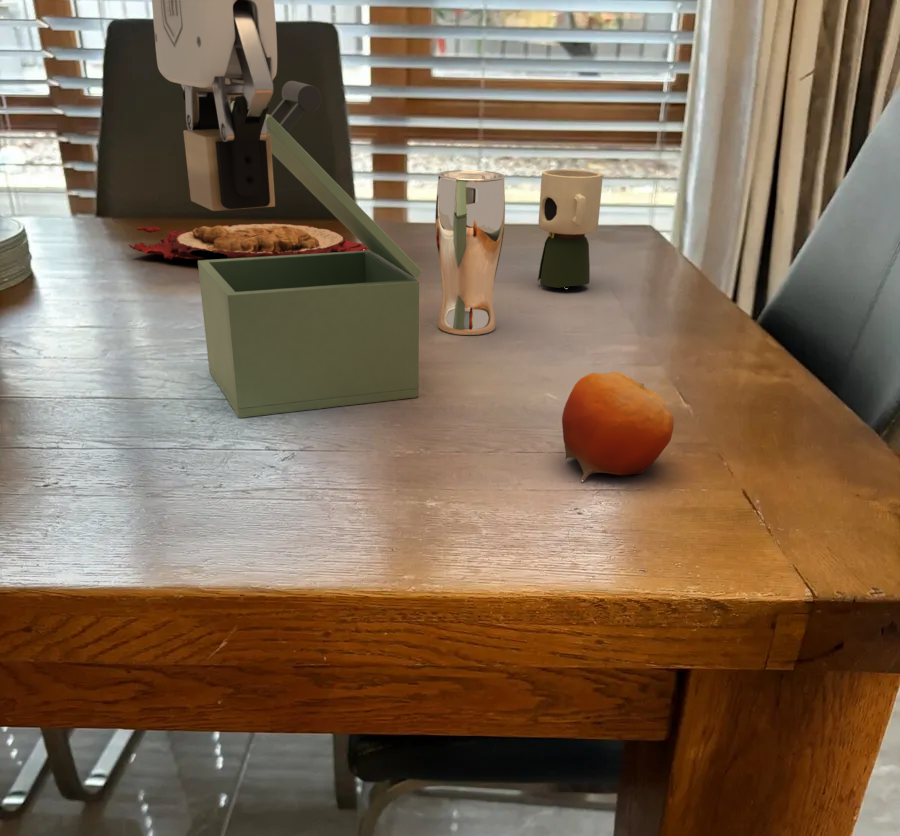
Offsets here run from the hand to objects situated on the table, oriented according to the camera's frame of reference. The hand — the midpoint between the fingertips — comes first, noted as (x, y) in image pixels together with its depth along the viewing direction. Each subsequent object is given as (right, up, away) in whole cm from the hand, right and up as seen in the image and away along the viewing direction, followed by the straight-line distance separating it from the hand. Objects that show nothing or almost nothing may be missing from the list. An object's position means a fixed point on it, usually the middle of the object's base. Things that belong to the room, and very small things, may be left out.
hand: (231, 198), depth 66 cm
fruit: (+27, -18, +6) cm, 33 cm away
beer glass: (+17, +1, +37) cm, 41 cm away
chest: (+2, -8, +20) cm, 22 cm away
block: (0, 0, 0) cm, 0 cm away
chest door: (+4, +6, +13) cm, 15 cm away
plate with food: (-10, +19, +66) cm, 70 cm away
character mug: (+29, +11, +54) cm, 62 cm away
